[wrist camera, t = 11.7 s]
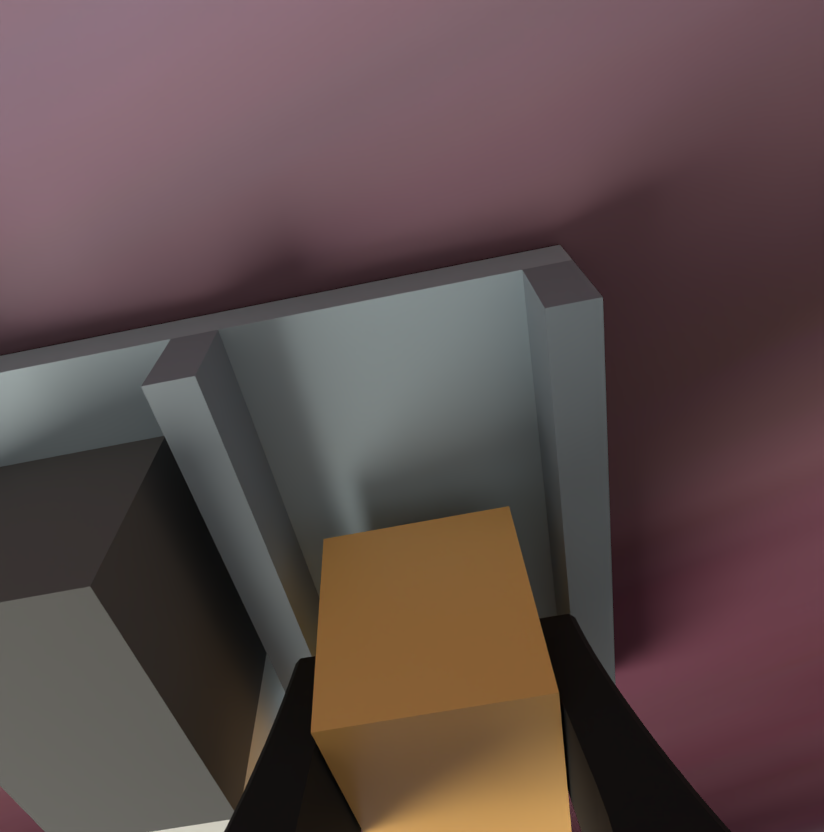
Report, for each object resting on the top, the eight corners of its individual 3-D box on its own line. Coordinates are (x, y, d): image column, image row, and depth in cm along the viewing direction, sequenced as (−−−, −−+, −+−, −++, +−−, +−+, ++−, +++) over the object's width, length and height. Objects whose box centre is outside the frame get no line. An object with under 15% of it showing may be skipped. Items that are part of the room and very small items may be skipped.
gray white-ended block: (-15, 470, 12) (-152, 629, 9) (165, 435, 12) (90, 586, 8) (149, 714, 16) (95, 883, 13) (285, 691, 15) (264, 857, 12)
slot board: (588, 683, 17) (618, 773, 15) (141, 755, 18) (111, 850, 16) (559, 244, 11) (603, 297, 9) (-129, 381, 12) (-237, 459, 10)
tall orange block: (323, 538, 12) (311, 732, 9) (508, 506, 12) (559, 693, 9) (401, 745, 16) (411, 921, 13) (537, 724, 16) (577, 898, 13)
